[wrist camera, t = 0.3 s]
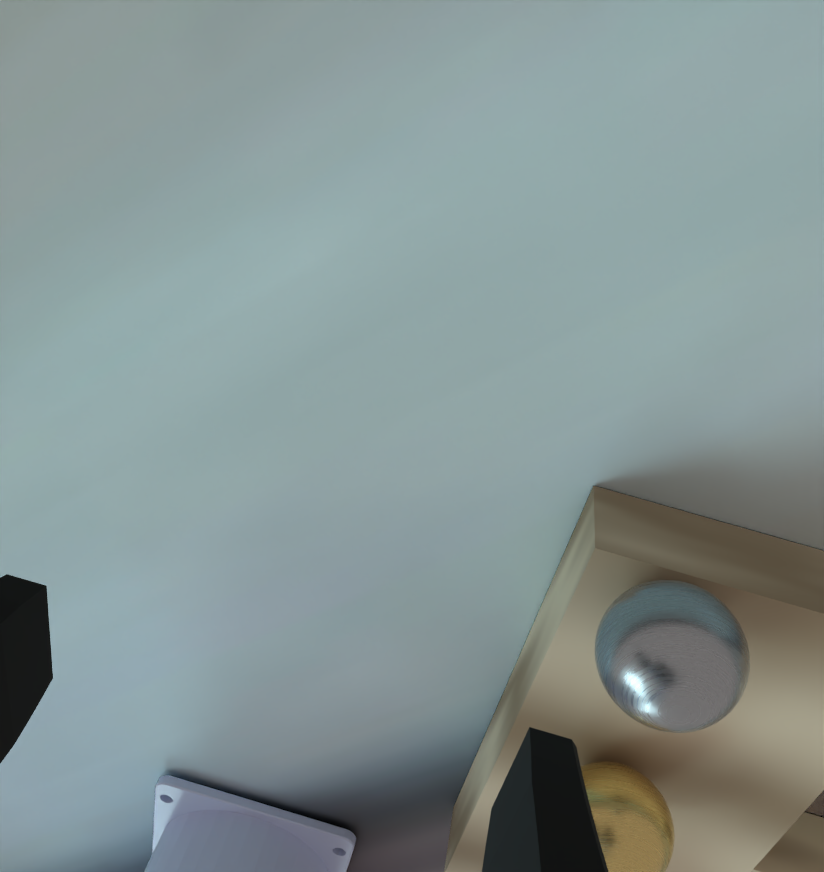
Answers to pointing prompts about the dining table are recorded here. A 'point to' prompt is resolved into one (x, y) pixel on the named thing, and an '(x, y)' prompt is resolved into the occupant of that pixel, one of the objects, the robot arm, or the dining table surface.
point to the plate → (663, 751)
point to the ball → (629, 818)
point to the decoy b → (672, 656)
